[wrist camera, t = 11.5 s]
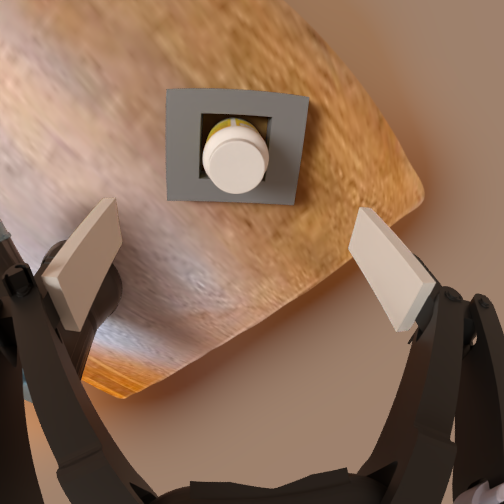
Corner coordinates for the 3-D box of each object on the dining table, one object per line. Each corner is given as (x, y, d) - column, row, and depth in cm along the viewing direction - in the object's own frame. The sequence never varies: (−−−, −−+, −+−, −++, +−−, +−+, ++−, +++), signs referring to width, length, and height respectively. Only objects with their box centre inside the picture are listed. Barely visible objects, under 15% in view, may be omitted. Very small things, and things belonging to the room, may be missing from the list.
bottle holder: (289, 195, 36) (293, 205, 33) (171, 191, 34) (167, 200, 32) (302, 96, 29) (309, 97, 26) (172, 88, 27) (166, 89, 24)
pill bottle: (209, 168, 33) (202, 205, 24) (205, 119, 29) (194, 135, 20) (260, 164, 33) (274, 200, 24) (259, 115, 30) (273, 130, 21)
